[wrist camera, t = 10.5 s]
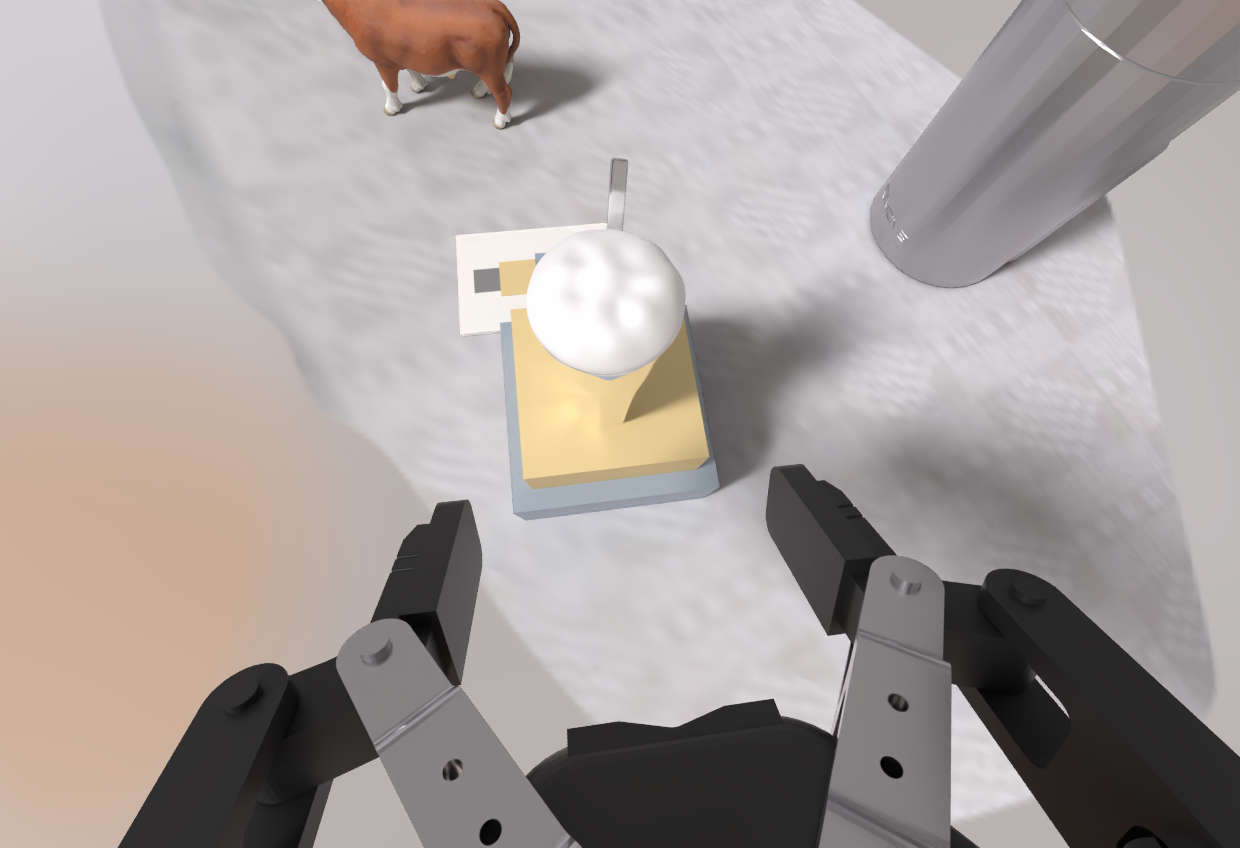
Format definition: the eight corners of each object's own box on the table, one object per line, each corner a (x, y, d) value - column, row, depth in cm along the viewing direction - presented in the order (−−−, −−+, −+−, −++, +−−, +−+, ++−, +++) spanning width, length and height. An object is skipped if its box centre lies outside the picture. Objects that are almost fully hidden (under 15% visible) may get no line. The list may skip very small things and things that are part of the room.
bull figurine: (355, 61, 36) (286, -81, 28) (536, 96, 35) (518, -38, 27) (333, 107, 34) (254, -28, 26) (521, 143, 34) (497, 18, 26)
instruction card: (610, 225, 32) (610, 221, 32) (624, 320, 31) (624, 317, 30) (457, 238, 32) (455, 234, 31) (461, 336, 30) (460, 333, 30)
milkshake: (661, 335, 23) (705, 168, 13) (650, 447, 21) (691, 351, 12) (563, 324, 23) (535, 147, 13) (545, 435, 21) (500, 329, 12)
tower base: (675, 337, 30) (696, 273, 24) (703, 497, 28) (736, 476, 21) (513, 354, 30) (487, 292, 23) (525, 520, 27) (501, 506, 20)
